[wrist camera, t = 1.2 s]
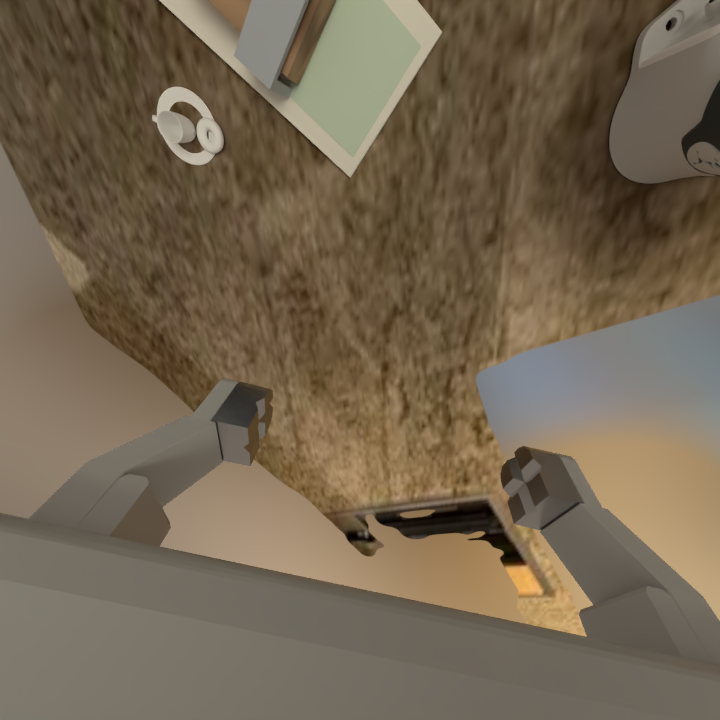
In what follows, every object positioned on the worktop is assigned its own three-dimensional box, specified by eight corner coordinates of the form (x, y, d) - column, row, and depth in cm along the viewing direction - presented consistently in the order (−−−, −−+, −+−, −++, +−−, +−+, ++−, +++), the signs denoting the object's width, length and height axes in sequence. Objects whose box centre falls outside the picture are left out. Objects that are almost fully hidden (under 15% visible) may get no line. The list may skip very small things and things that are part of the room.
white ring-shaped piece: (235, 131, 37) (218, 129, 34) (210, 183, 41) (194, 185, 38) (171, 68, 34) (147, 59, 31) (152, 131, 38) (128, 129, 35)
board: (185, -287, 22) (176, -306, 21) (441, 35, 30) (442, 31, 29) (143, -16, 30) (135, -22, 29) (351, 177, 38) (350, 177, 37)
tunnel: (316, -86, 26) (296, -141, 21) (351, -44, 27) (339, -87, 22) (258, 70, 32) (233, 55, 27) (288, 98, 33) (269, 89, 29)
